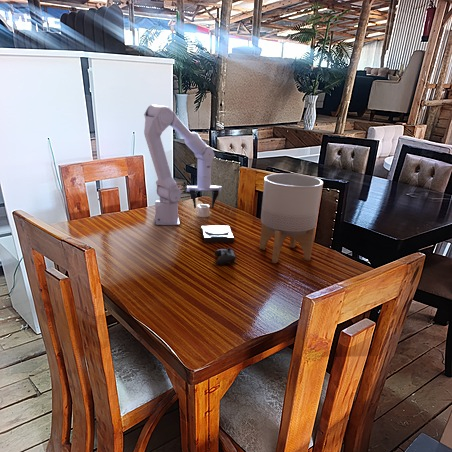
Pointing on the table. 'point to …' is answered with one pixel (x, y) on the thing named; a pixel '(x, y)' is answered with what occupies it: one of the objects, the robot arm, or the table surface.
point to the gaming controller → (225, 256)
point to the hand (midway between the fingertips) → (203, 207)
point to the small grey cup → (203, 210)
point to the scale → (217, 234)
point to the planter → (290, 211)
